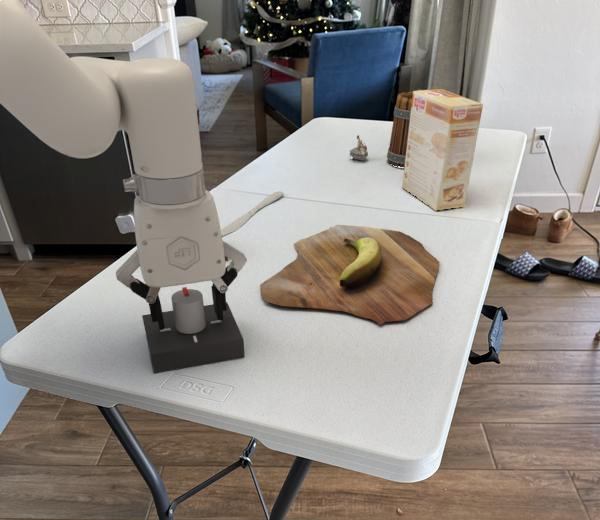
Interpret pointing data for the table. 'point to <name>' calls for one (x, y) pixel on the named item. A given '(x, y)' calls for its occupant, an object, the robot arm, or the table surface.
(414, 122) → the coffeecake box
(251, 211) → the butter knife
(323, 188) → the table surface
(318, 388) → the table surface
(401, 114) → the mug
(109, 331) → the table surface
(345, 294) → the cutting board
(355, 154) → the figurine
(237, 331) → the dial panel
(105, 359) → the table surface
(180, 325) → the dial
